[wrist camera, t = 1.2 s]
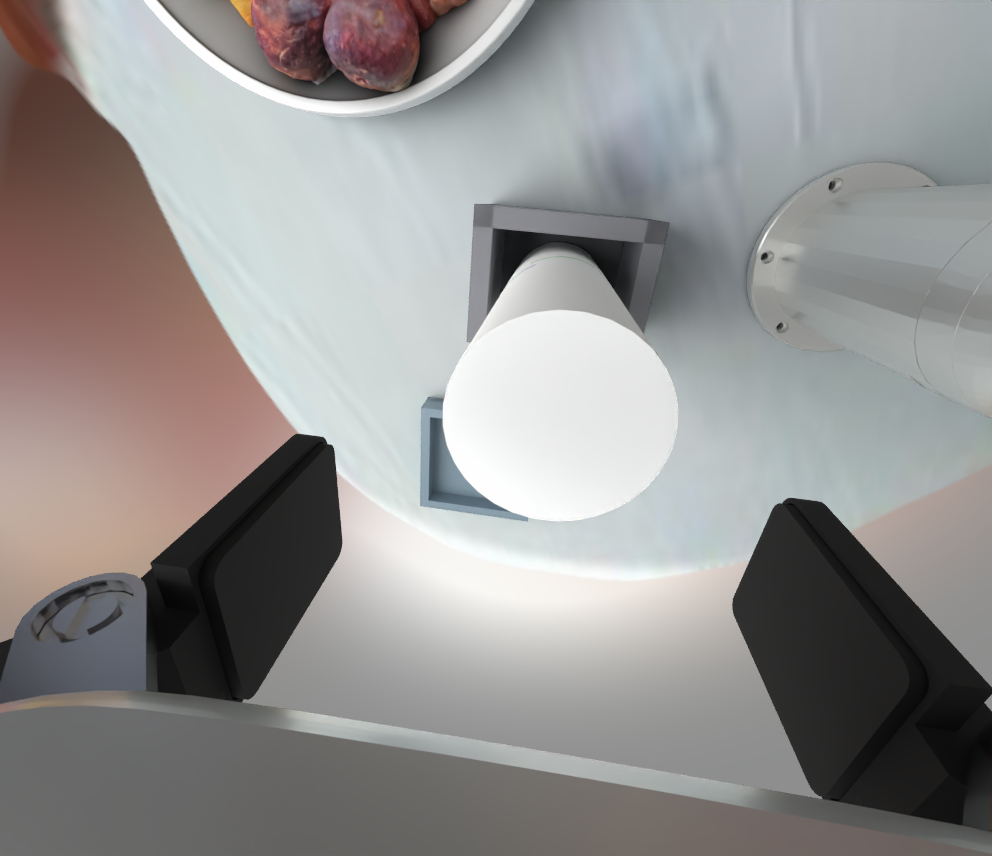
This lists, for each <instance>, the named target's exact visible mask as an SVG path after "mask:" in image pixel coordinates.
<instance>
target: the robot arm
mask: <svg viewBox="0 0 992 856" xmlns="http://www.w3.org/2000/svg"><path fill="white" fill-rule="evenodd" d="M830 182H832V187H831V189H828V187H829V184H830ZM763 253H765V254H766V257H765V258H764V259H763V260H761V256H762V254H763ZM747 294H748V298H749V302H750V306H751V309H752V311H753V313H754V315H755V317H756V319H757V320H758V321H759V323H760V324H761V325H762V326H763V327H764V329H765V330H766V331H767V332H769V333H770V334H771V335H773V336H774V337H776V338H777V339H779V340H780V341H782V342H784V343H786V344H788V345H790V346H793V347H796V348H799V349H803V350H810V351H819V352H822V351H837V350H842V349H846V348H847V349H849V350H851V351H853V352H855V353H857V354H859V355H861V356H863V357H865V358H867V359H869V360H871V361H873V362H875V363H877V364H879V365H881V366H883V367H885V368H887V369H889V370H891V371H893V372H895V373H897V374H899V375H901V376H903V377H905V378H907V379H909V380H911V381H913V382H915V383H917V384H919V385H921V386H923V387H925V388H927V389H929V390H931V391H933V392H935V393H937V394H939V395H941V396H943V397H945V398H948V399H950V400H951V401H953V402H956V403H958V404H960V405H962V406H964V407H966V408H968V409H970V410H972V411H974V412H977V413H979V414H982V415H984V416H987V417H990V418H992V184H974V185H954V186H938V185H937V184H936V183H935V182H934V181H932V180H931V179H930V178H929V177H928V176H927V175H925V174H924V173H922V172H920V171H918V170H916V169H914V168H912V167H909V166H906V165H901V164H896V163H891V162H878V163H864V164H857V165H851V166H848V167H845V168H842V169H838V170H835V171H832V172H830V173H828V174H826V175H824V176H822V177H820V178H818V179H815V180H813V181H812V182H810V183H809V184H807V185H806V186H805V187H803V188H802V189H800V190H799V191H797V192H796V193H795V194H793V195H792V196H791V197H790V198H789V199H788V200H787V201H786V202H785V203H784V204H783V205H782V206H781V207H780V208H779V209H778V210H777V211H776V212H775V214H774V215H773V216H772V218H771V219H770V220H769V221H768V223H767V224H766V225H765V227H764V229H763V231H762V233H761V234H760V236H759V238H758V240H757V241H756V244H755V247H754V249H753V252H752V255H751V257H750V261H749V267H748V273H747ZM779 323H781V325H780V326H779V327H778V328H776V327H777V325H778V324H779ZM341 548H342V533H341V520H340V509H339V498H338V487H337V475H336V464H335V453H334V448H333V446H332V445H329V444H327V442H326V440H325V438H323V437H319V436H311V435H304V434H295V435H294V436H292V437H291V438H290V439H289V440H288V441H287V442H286V443H284V445H282V446H281V447H280V448H279V449H278V450H277V451H276V452H274V453H273V454H272V455H271V456H270V457H269V458H268V459H266V460H265V461H264V462H263V463H262V464H261V465H260V466H259V467H258V468H256V469H255V470H254V471H253V472H252V473H251V474H250V475H249V476H247V477H246V478H245V479H244V480H243V481H242V482H241V483H240V484H238V486H236V487H235V488H234V489H233V490H232V491H231V492H229V493H228V494H227V495H226V496H225V497H224V498H223V499H222V500H220V501H219V502H218V503H217V504H216V505H215V506H214V507H213V508H212V509H210V510H209V511H208V512H207V513H206V514H205V515H204V516H203V517H201V518H200V519H199V520H198V521H197V522H196V523H195V524H194V525H192V526H191V527H190V528H189V529H188V530H187V531H186V532H185V533H184V534H183V535H181V536H180V537H179V538H178V539H177V540H176V541H175V542H173V543H172V544H171V545H170V546H169V547H168V548H167V549H165V550H164V551H163V552H162V553H161V554H160V555H159V556H158V557H157V558H155V559H154V560H153V561H152V562H151V566H152V569H151V570H150V571H148V572H147V573H146V574H145V575H144V576H143V577H142V578H141V579H140V578H138V577H137V576H135V575H131V574H127V573H105V574H100V575H95V576H90V577H87V578H84V579H81V580H78V581H76V582H73V583H70V584H68V585H66V586H64V587H62V588H60V589H58V590H56V591H54V592H53V593H51V594H49V595H48V596H46V597H45V598H44V599H42V600H41V601H39V602H38V603H37V604H35V605H34V606H33V607H32V608H31V609H30V610H29V611H28V612H27V613H26V614H25V615H24V616H23V617H22V619H21V621H20V623H19V625H18V626H17V628H16V630H15V633H14V637H13V638H12V639H9V640H7V641H4V642H1V643H0V856H992V711H991V710H990V709H989V708H988V707H987V706H986V704H985V703H984V702H985V701H986V700H987V699H988V698H989V697H990V695H991V694H992V687H991V686H990V685H989V684H988V683H987V682H986V681H985V680H984V679H983V677H982V676H981V675H980V674H979V673H978V672H977V671H976V670H975V669H974V667H973V666H972V665H971V664H970V663H969V662H968V661H967V660H966V659H965V658H964V657H963V655H962V654H961V653H960V652H959V651H958V650H957V649H956V648H955V647H954V646H953V645H952V643H951V642H950V641H949V640H948V639H947V638H946V637H945V636H944V635H943V634H942V632H941V631H940V630H939V629H938V628H937V627H936V626H935V625H934V624H933V623H932V621H931V620H929V618H928V617H927V616H926V615H925V614H924V613H923V612H922V610H921V609H920V608H919V607H918V606H917V605H916V604H915V603H914V602H913V601H912V600H911V598H910V597H909V596H908V595H907V594H906V593H905V592H904V591H903V590H902V588H901V587H900V586H899V585H898V584H897V583H896V582H895V581H894V580H893V579H892V578H891V576H890V575H889V574H888V573H887V572H886V571H885V570H884V569H883V568H882V567H881V565H880V564H879V563H878V562H877V561H876V560H875V559H874V558H873V557H872V556H871V554H869V552H868V551H867V550H866V549H865V548H864V547H863V546H862V545H861V544H860V542H859V541H858V540H857V539H856V538H855V537H854V536H853V535H852V534H851V533H850V531H849V530H848V529H847V528H846V527H845V526H844V525H843V524H842V523H841V522H840V520H839V519H838V518H837V517H836V516H835V515H834V514H833V513H832V512H831V511H830V509H829V508H828V507H827V506H826V505H825V504H823V503H822V502H818V501H811V500H803V499H796V498H788V499H786V500H785V501H784V502H783V503H782V504H777V505H776V506H774V508H773V510H772V512H771V514H770V516H769V519H768V521H767V523H766V525H765V528H764V530H763V532H762V534H761V537H760V539H759V541H758V543H757V546H756V548H755V550H754V552H753V555H752V557H751V559H750V561H749V564H748V566H747V568H746V570H745V573H744V575H743V577H742V579H741V582H740V584H739V587H738V589H737V591H736V593H735V596H734V598H733V605H732V606H733V613H734V616H735V619H736V621H737V623H738V626H739V628H740V630H741V632H742V635H743V637H744V639H745V641H746V644H747V645H748V648H749V650H750V652H751V655H752V657H753V659H754V662H755V664H756V666H757V668H758V671H759V673H760V675H761V677H762V680H763V682H764V684H765V686H766V689H767V691H768V693H769V695H770V698H771V700H772V702H773V704H774V707H775V709H776V711H777V713H778V716H779V718H780V720H781V722H782V725H783V727H784V729H785V732H786V734H787V736H788V738H789V741H790V743H791V745H792V747H793V750H794V752H795V754H796V756H797V759H798V761H799V763H800V765H801V768H802V770H803V772H804V774H805V777H806V779H807V781H808V783H809V785H810V787H811V789H812V790H813V791H814V792H815V793H816V794H817V795H819V796H822V798H823V799H818V798H812V797H807V796H801V795H795V794H789V793H783V792H778V791H772V790H766V789H761V788H755V787H749V786H744V785H738V784H732V783H726V782H721V781H715V780H709V779H703V778H698V777H692V776H686V775H681V774H675V773H669V772H663V771H658V770H652V769H646V768H640V767H633V766H628V765H622V764H616V763H610V762H605V761H599V760H593V759H587V758H580V757H575V756H569V755H563V754H557V753H551V752H545V751H539V750H534V749H528V748H522V747H515V746H510V745H504V744H498V743H492V742H486V741H480V740H474V739H468V738H462V737H456V736H450V735H444V734H438V733H431V732H425V731H419V730H413V729H407V728H401V727H395V726H389V725H382V724H376V723H370V722H364V721H358V720H351V719H346V718H339V717H333V716H327V715H321V714H315V713H309V712H303V711H297V710H290V709H283V708H276V707H269V706H262V705H255V704H248V703H242V701H243V699H247V700H248V699H250V698H252V697H253V696H254V695H255V693H256V692H257V691H258V689H259V687H260V686H261V684H262V682H263V681H264V679H265V678H266V676H267V674H268V673H269V671H270V669H271V668H272V666H273V664H274V663H275V661H276V659H277V658H278V656H279V654H280V653H281V651H282V650H283V648H284V646H285V645H286V643H287V641H288V639H289V638H290V636H291V635H292V633H293V631H294V630H295V628H296V626H297V625H298V623H299V621H300V620H301V618H302V617H303V615H304V613H305V611H306V610H307V608H308V607H309V605H310V603H311V602H312V600H313V598H314V597H315V595H316V593H317V592H318V590H319V589H320V587H321V585H322V583H323V582H324V580H325V579H326V577H327V575H328V574H329V572H330V570H331V569H332V567H333V565H334V563H335V562H336V560H337V559H338V557H339V555H340V552H341Z"/></svg>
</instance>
